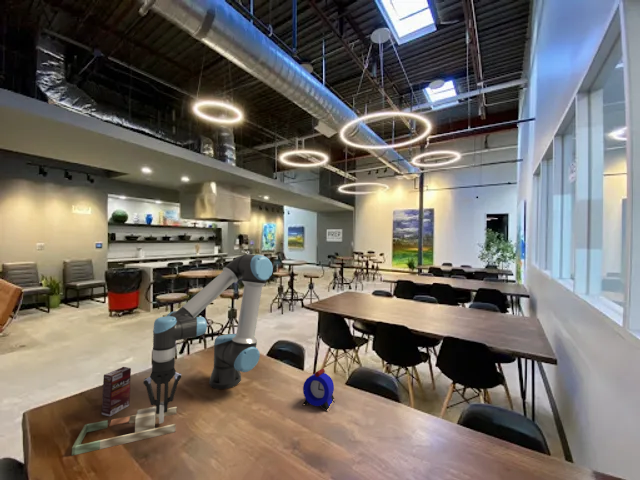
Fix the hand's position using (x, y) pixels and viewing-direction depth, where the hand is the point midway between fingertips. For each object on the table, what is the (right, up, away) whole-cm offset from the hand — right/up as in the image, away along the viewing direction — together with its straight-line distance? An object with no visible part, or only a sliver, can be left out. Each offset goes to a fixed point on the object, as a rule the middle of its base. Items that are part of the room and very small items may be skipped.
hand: (161, 421), depth 108 cm
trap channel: (-10, -1, -2) cm, 10 cm away
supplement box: (-24, -1, +9) cm, 25 cm away
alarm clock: (+60, -4, +19) cm, 63 cm away
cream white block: (-5, -1, -2) cm, 5 cm away
